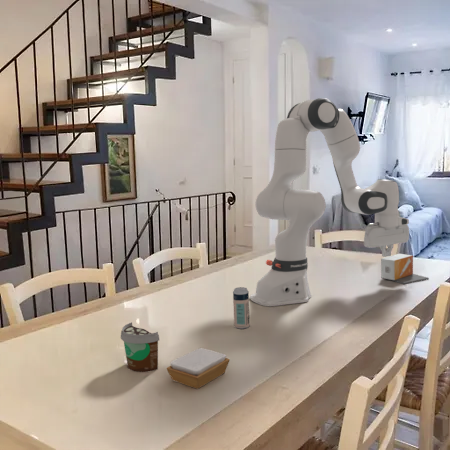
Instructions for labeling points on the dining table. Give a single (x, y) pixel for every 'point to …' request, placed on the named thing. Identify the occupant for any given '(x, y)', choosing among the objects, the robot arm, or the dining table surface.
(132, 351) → the food container
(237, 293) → the supplement bottle
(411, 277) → the mat
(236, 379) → the dining table surface
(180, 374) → the soap dish
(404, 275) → the small box
